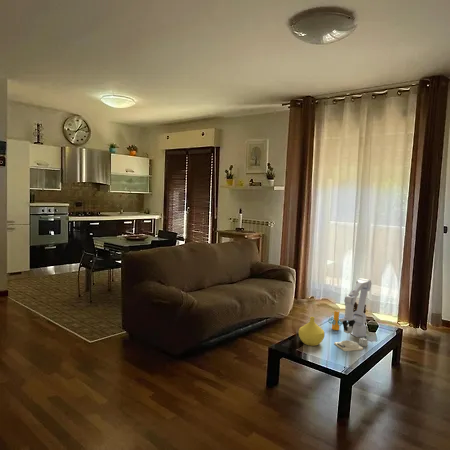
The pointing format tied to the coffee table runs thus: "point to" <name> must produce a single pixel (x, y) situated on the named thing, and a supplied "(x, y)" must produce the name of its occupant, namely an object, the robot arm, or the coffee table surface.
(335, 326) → the orange toy figure
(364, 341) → the block
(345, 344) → the scale
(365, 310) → the scroll
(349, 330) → the block
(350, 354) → the coffee table surface
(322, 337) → the vase
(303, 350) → the coffee table surface
